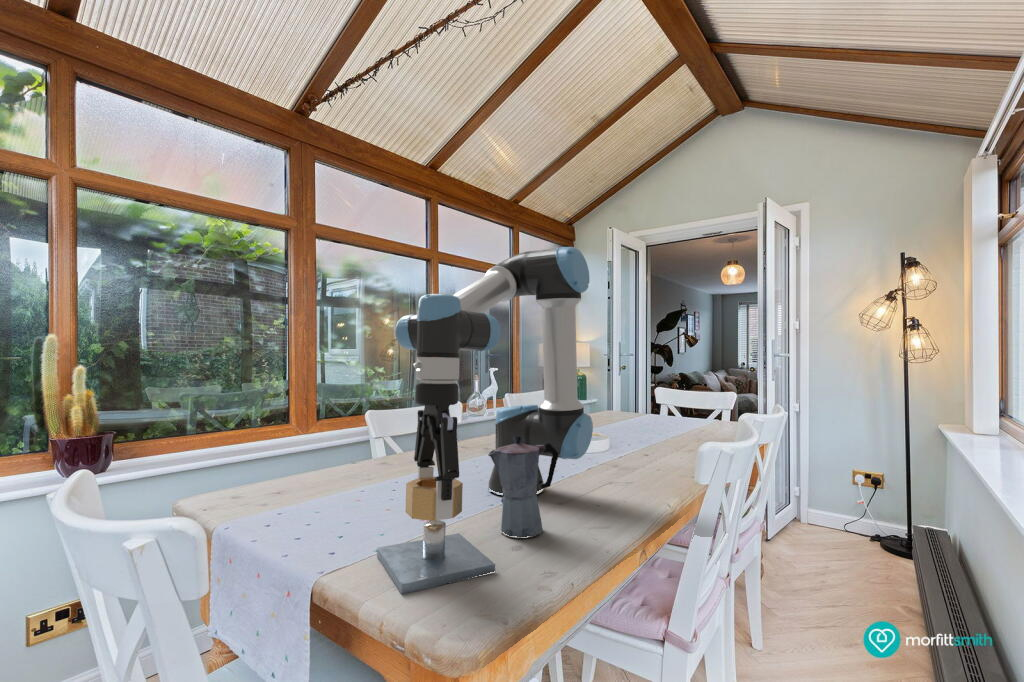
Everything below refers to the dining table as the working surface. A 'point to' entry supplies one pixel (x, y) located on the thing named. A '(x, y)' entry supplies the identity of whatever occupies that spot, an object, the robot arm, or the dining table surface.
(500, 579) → the dining table surface
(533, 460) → the moka pot
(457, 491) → the ring
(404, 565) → the peg base plate
